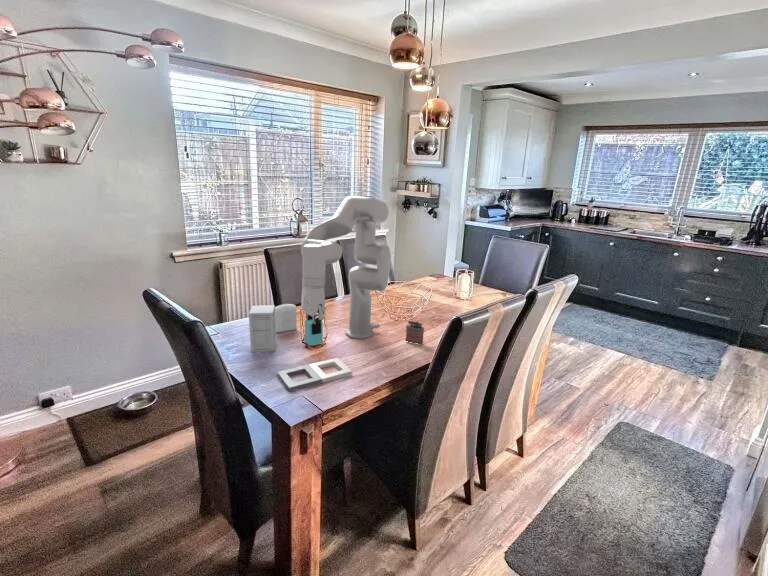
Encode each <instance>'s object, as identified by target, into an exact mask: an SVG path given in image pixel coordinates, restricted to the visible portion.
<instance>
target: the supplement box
mask: <svg viewBox="0 0 768 576" xmlns="http://www.w3.org/2000/svg"><path fill="white" fill-rule="evenodd" d="M275 307H276V306H275V304H274V305H273V304H272V305H271V304H270V305H268V304H267V305H264V304H262V305H252V306H251V308H250V309H249V313H248V321H249V322H248V323H249V341H250V353H262V352H264V353H265V352H275V351H276V347H277V332H276V321H275Z"/></svg>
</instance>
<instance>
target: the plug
mask: <svg viewBox="0 0 768 576" xmlns="http://www.w3.org/2000/svg"><path fill="white" fill-rule="evenodd" d="M312 323H313V319H310V320H306V319H305V320H304V342H305V343H306V344H307V345H308V346H314V345H319V344H323V343H324V340H323V339H324V338H323V335H324V333H323V332H324V331H323V330H324V329H323V328H324V322H323V321H322V323H321V333H320V334H314V335H313V334H312Z"/></svg>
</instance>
